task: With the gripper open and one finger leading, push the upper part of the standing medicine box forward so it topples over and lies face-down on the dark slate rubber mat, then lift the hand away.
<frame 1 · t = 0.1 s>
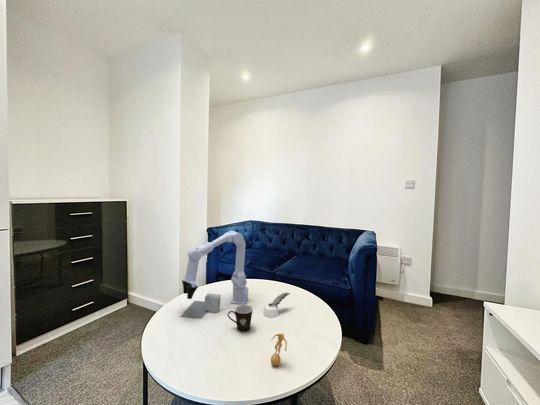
hand: (187, 295, 129), 11 cm above the table, tool pointing down, fingers open, 7 cm apart
figurine: (277, 363, 95), on the table
medicine box: (212, 310, 135), on the table, touching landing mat
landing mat: (197, 309, 136), on the table
coffee mug: (240, 327, 119), on the table
inkwell: (277, 311, 136), on the table
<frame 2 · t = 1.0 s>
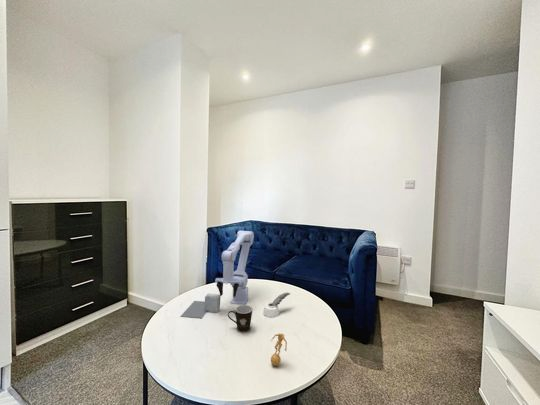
hand: (227, 295, 133), 10 cm above the table, tool pointing down, fingers open, 7 cm apart
nothing on the table moved.
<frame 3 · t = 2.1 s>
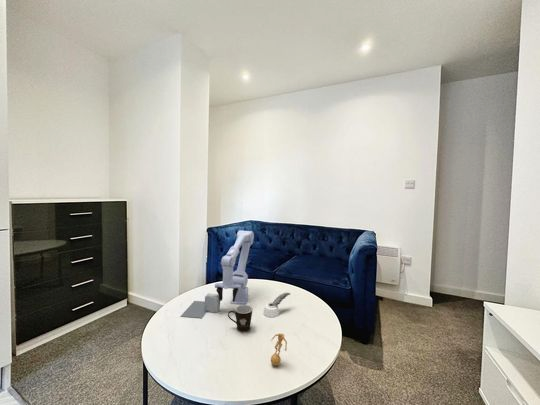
hand: (227, 300, 134), 6 cm above the table, tool pointing down, fingers open, 7 cm apart
medicine box: (212, 310, 135), on the table, touching gripper, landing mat
everything else where it was.
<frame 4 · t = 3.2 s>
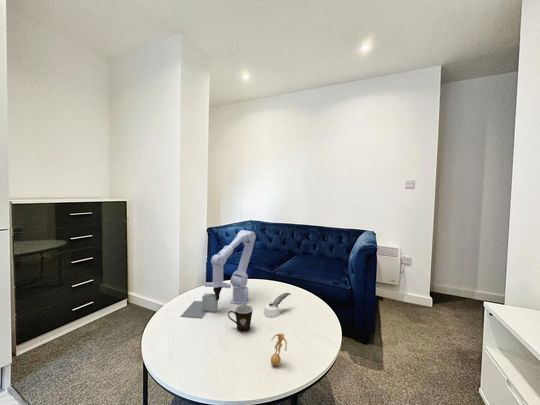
hand: (217, 299, 134), 7 cm above the table, tool pointing down, fingers closed, pressing on medicine box
medicine box: (210, 310, 135), on the table, touching gripper, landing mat
everything else where it was.
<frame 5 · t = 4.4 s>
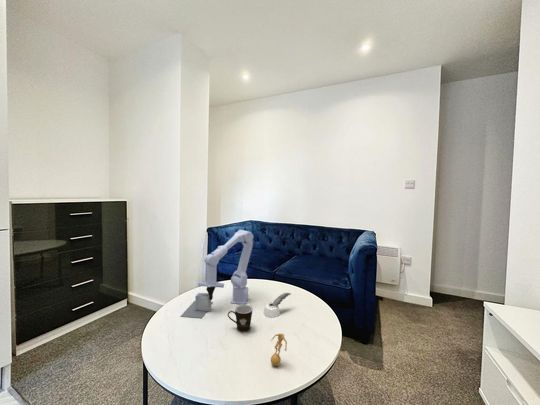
hand: (210, 299, 135), 7 cm above the table, tool pointing down, fingers closed, pressing on medicine box
medicine box: (203, 309, 135), resting on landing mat, touching gripper
everything else where it was.
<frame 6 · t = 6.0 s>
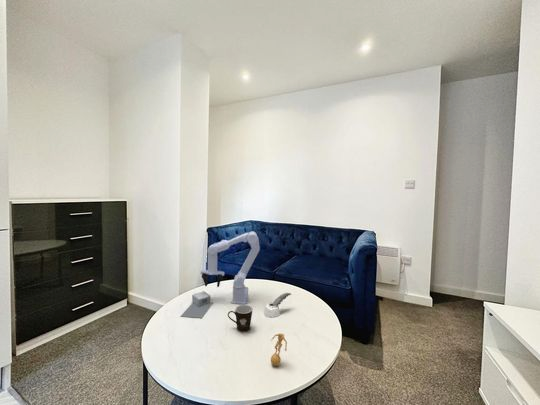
hand: (212, 286, 146), 9 cm above the table, tool pointing down, fingers open, 7 cm apart
medicine box: (205, 301, 141), point 3 cm above the table, touching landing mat
everything else where it was.
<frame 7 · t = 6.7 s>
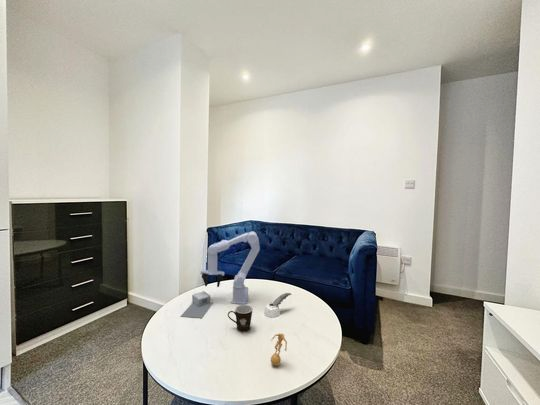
hand: (212, 286, 146), 9 cm above the table, tool pointing down, fingers open, 7 cm apart
nothing on the table moved.
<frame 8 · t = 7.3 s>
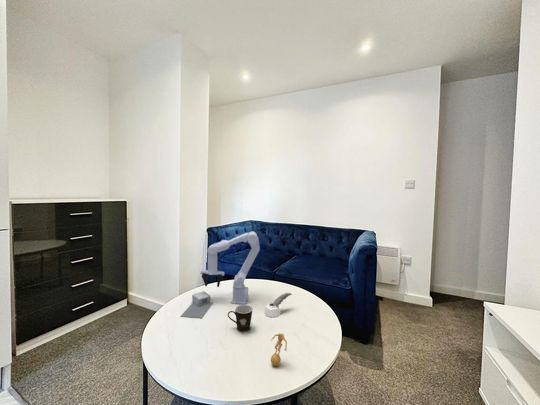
hand: (212, 286, 146), 9 cm above the table, tool pointing down, fingers open, 7 cm apart
nothing on the table moved.
at the end: medicine box tilted 91°; medicine box touching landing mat; medicine box inside the target area (5.2 cm from its centre), point 2.6 cm above the table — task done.
